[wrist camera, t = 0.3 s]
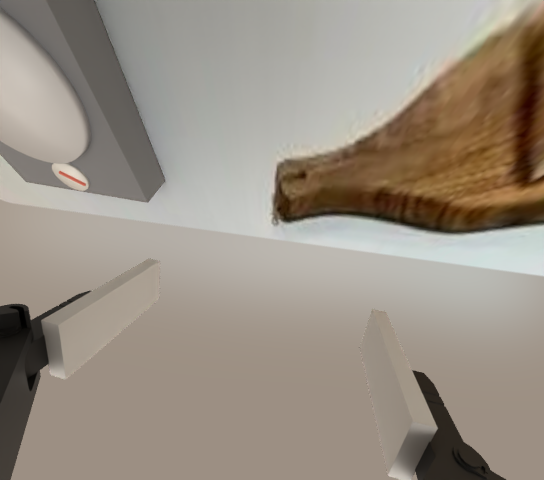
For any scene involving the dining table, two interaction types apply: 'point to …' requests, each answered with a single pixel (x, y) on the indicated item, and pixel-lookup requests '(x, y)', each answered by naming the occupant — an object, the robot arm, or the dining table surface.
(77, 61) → the kitchen scale
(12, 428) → the robot arm
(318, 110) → the dining table surface
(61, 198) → the dining table surface
